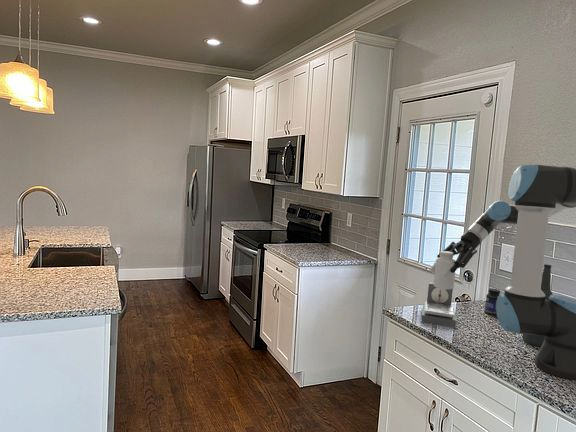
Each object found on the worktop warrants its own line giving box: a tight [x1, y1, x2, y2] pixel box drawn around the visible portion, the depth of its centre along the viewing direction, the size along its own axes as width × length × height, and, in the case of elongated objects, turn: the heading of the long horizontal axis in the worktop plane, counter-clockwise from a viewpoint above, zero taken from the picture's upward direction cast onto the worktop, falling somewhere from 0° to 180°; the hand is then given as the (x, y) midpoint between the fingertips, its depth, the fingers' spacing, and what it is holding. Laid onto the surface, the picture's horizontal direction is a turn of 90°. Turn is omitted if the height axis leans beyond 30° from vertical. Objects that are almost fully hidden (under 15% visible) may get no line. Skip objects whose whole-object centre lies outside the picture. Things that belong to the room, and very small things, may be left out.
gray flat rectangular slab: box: [424, 301, 454, 318], centre depth 184 cm, size 14×11×1 cm
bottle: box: [522, 264, 554, 348], centre depth 163 cm, size 10×10×30 cm
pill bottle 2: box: [484, 288, 501, 316], centre depth 198 cm, size 6×6×11 cm
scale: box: [421, 281, 457, 329], centre depth 185 cm, size 18×13×13 cm
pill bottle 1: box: [433, 250, 456, 290], centre depth 182 cm, size 8×8×15 cm
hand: (437, 274), depth 181 cm, fingers closed on pill bottle 1, 8 cm apart
